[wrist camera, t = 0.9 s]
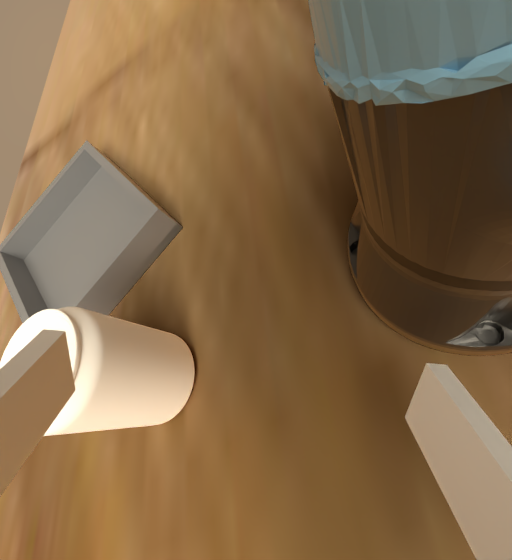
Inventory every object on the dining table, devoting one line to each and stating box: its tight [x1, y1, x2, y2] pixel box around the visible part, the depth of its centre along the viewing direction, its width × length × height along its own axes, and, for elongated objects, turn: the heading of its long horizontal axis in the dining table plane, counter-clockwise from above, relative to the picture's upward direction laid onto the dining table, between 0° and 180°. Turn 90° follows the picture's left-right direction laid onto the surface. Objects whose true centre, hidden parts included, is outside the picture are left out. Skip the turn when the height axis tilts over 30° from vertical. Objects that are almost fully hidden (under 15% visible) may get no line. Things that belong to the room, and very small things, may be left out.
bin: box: [0, 141, 183, 323], centre depth 39 cm, size 19×19×4 cm
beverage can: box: [0, 307, 195, 436], centre depth 25 cm, size 8×8×12 cm
